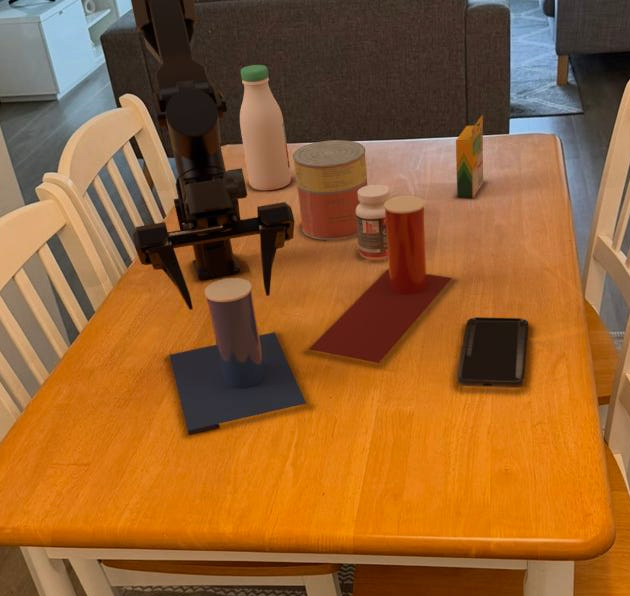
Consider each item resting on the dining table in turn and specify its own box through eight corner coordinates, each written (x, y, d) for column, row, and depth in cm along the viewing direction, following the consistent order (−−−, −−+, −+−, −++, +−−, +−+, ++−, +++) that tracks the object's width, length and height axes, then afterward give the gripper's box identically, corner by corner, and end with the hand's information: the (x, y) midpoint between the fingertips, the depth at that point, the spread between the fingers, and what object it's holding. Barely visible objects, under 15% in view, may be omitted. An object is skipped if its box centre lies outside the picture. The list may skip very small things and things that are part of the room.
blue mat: (170, 358, 115) (169, 354, 114) (275, 336, 117) (274, 332, 117) (188, 434, 101) (187, 430, 101) (307, 407, 104) (306, 403, 103)
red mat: (388, 271, 130) (388, 268, 129) (452, 281, 126) (452, 277, 125) (309, 352, 113) (308, 348, 113) (379, 366, 109) (378, 362, 109)
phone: (528, 318, 114) (523, 382, 102) (528, 326, 114) (523, 390, 103) (467, 317, 115) (455, 379, 103) (467, 324, 116) (455, 388, 104)
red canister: (384, 281, 126) (378, 199, 119) (420, 273, 127) (416, 192, 120) (396, 297, 122) (391, 214, 115) (433, 289, 123) (430, 206, 116)
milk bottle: (289, 190, 158) (274, 72, 146) (247, 192, 159) (227, 75, 146) (293, 174, 164) (278, 60, 152) (252, 177, 165) (234, 63, 152)
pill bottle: (392, 262, 132) (388, 198, 126) (355, 261, 133) (349, 198, 127) (399, 245, 136) (395, 182, 130) (363, 245, 138) (358, 182, 132)
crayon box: (467, 181, 155) (466, 113, 148) (483, 182, 154) (484, 114, 147) (456, 197, 150) (455, 128, 143) (473, 198, 149) (473, 128, 142)
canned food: (376, 211, 148) (371, 139, 140) (364, 240, 139) (357, 165, 132) (310, 212, 150) (302, 140, 142) (295, 240, 141) (284, 165, 134)
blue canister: (230, 364, 111) (212, 277, 104) (271, 365, 110) (256, 278, 103) (217, 388, 107) (198, 299, 100) (259, 389, 106) (243, 300, 99)
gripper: (113, 159, 97) (141, 293, 95) (280, 133, 100) (310, 263, 98) (129, 202, 108) (154, 323, 106) (279, 177, 111) (305, 296, 109)
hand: (229, 301), depth 105 cm, fingers open, 9 cm apart
